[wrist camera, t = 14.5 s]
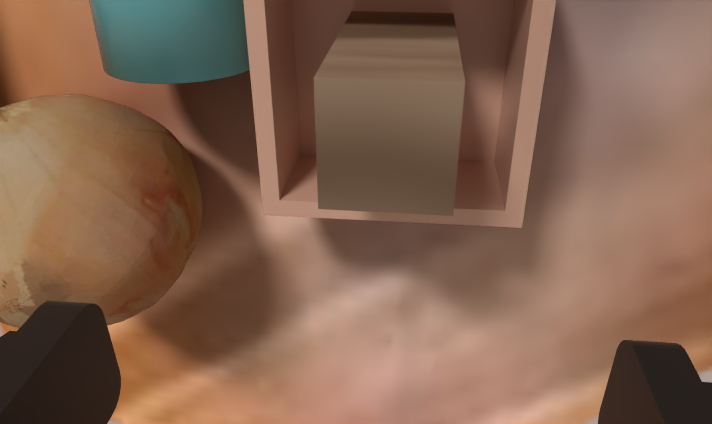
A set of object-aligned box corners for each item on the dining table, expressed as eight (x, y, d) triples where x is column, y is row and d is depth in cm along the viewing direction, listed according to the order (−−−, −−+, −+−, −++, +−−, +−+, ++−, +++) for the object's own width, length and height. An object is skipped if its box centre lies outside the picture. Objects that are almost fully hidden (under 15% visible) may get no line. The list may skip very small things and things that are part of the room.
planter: (273, -75, 23) (237, -63, 19) (539, -74, 22) (565, -62, 18) (289, 162, 28) (263, 215, 24) (507, 171, 27) (521, 227, 23)
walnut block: (351, 11, 24) (313, 78, 16) (453, 13, 23) (465, 82, 16) (352, 107, 26) (318, 208, 18) (446, 110, 25) (453, 216, 18)
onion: (119, 15, 26) (-42, 88, 17) (272, 186, 29) (204, 321, 20) (-8, 138, 29) (-193, 250, 21) (141, 278, 32) (35, 425, 24)
